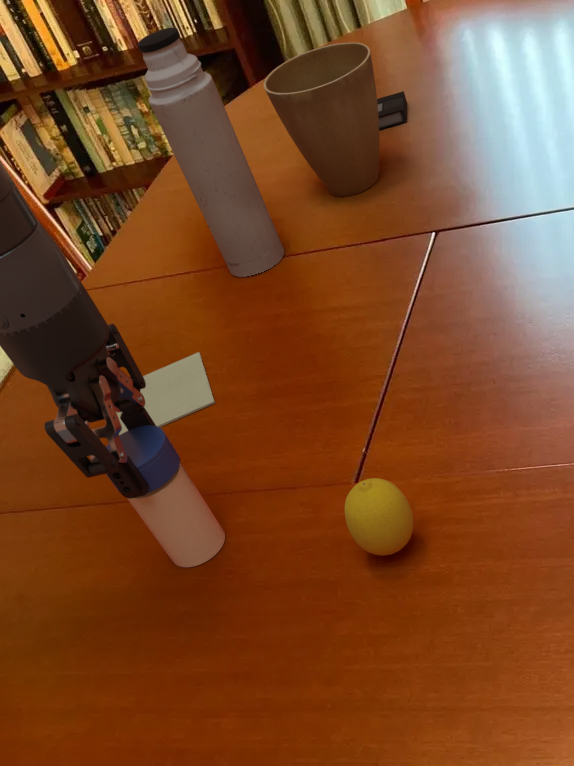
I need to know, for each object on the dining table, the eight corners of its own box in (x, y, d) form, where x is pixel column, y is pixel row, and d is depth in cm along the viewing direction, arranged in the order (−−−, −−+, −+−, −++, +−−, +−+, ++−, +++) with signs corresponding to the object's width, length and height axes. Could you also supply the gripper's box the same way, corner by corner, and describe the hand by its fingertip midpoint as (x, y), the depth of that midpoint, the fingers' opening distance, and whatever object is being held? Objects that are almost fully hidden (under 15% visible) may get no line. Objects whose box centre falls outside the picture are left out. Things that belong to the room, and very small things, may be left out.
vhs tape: (407, 122, 138) (403, 109, 137) (321, 147, 141) (316, 134, 139) (407, 104, 143) (403, 91, 142) (324, 128, 146) (319, 115, 144)
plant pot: (291, 215, 127) (244, 99, 115) (331, 164, 135) (291, 50, 123) (383, 206, 121) (343, 83, 109) (418, 153, 129) (385, 33, 118)
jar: (166, 572, 83) (99, 483, 74) (176, 531, 86) (113, 441, 78) (221, 560, 82) (160, 468, 73) (229, 519, 85) (171, 427, 77)
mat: (116, 446, 99) (115, 444, 99) (109, 393, 107) (108, 391, 107) (215, 403, 100) (214, 401, 99) (200, 353, 108) (199, 351, 108)
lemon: (354, 547, 78) (322, 482, 73) (407, 517, 79) (380, 450, 73) (378, 584, 75) (346, 518, 69) (434, 552, 75) (408, 484, 70)
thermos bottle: (220, 268, 122) (112, 47, 101) (266, 239, 124) (170, 17, 103) (247, 283, 117) (140, 53, 96) (295, 253, 119) (200, 22, 98)
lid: (173, 488, 75) (157, 464, 73) (109, 503, 76) (91, 479, 74) (185, 443, 79) (170, 418, 77) (124, 457, 80) (108, 434, 78)
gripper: (50, 341, 59) (171, 516, 72) (99, 238, 69) (198, 409, 81) (-48, 367, 61) (88, 535, 73) (14, 263, 70) (124, 427, 82)
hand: (145, 468), depth 77 cm, fingers closed on lid, 6 cm apart
